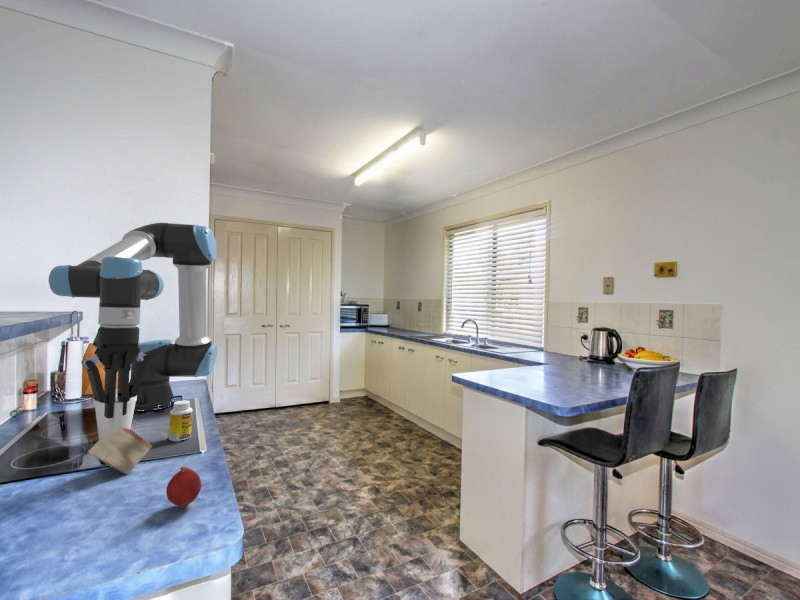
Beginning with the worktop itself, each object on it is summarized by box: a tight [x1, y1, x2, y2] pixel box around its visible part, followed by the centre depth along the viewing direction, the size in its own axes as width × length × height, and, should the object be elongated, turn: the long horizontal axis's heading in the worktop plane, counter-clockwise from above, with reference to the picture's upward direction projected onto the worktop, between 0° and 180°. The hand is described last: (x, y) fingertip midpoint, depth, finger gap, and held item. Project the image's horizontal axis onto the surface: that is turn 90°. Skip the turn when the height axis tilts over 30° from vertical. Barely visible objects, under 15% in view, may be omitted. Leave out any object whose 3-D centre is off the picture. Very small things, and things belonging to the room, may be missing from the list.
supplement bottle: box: [168, 399, 194, 442], centre depth 107 cm, size 6×6×10 cm
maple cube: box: [87, 427, 153, 475], centre depth 87 cm, size 7×7×7 cm
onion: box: [166, 465, 202, 509], centre depth 73 cm, size 6×6×8 cm
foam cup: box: [93, 388, 137, 441], centre depth 103 cm, size 10×9×13 cm
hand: (114, 431), depth 86 cm, fingers closed
